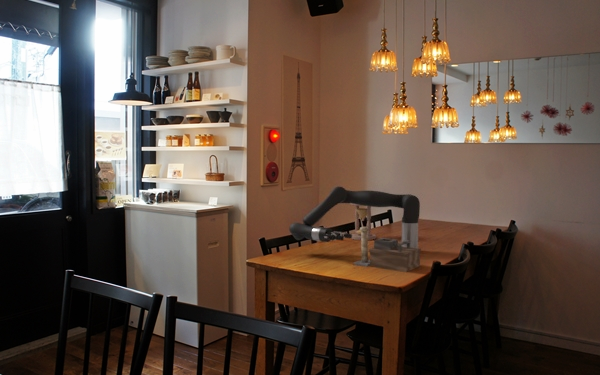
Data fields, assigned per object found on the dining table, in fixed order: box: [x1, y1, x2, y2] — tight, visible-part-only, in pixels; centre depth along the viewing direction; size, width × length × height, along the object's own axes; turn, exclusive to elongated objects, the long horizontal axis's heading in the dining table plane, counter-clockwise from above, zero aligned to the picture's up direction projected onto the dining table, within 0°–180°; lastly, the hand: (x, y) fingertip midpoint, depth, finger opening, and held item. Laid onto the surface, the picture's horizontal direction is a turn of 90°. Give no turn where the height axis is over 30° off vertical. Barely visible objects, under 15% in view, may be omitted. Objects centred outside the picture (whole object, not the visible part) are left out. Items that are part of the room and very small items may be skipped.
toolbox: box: [368, 237, 422, 273], centre depth 262 cm, size 17×21×13 cm
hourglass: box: [349, 203, 377, 241], centre depth 347 cm, size 18×18×25 cm
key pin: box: [359, 226, 369, 263], centre depth 268 cm, size 4×4×18 cm
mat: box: [353, 259, 370, 267], centre depth 268 cm, size 10×8×1 cm
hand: (347, 237), depth 274 cm, fingers open, 8 cm apart
